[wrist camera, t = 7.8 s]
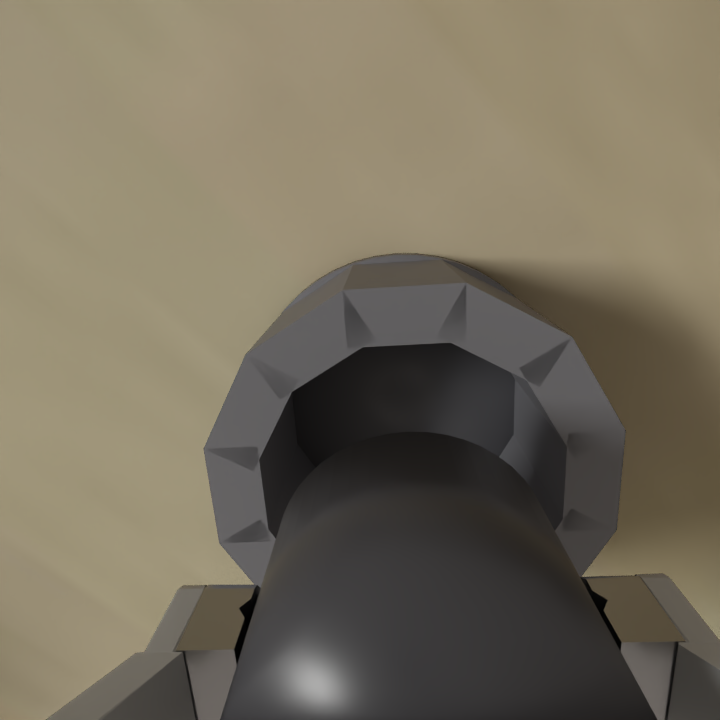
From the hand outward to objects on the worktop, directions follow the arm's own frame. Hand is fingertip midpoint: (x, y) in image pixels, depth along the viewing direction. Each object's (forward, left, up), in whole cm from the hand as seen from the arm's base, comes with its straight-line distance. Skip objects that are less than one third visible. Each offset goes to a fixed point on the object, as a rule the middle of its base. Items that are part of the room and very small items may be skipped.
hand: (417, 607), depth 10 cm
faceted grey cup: (0, 0, -10) cm, 10 cm away
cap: (0, 0, -2) cm, 2 cm away
